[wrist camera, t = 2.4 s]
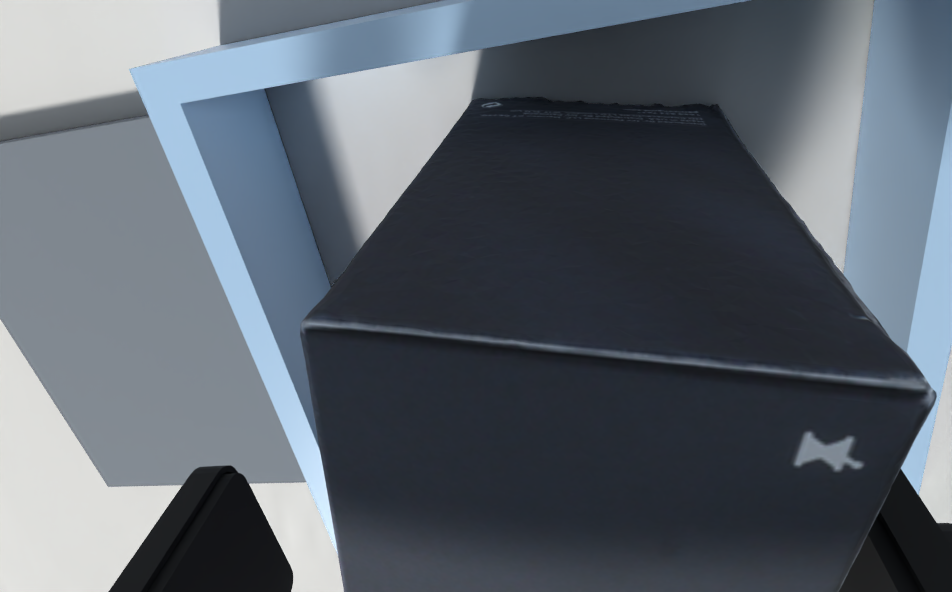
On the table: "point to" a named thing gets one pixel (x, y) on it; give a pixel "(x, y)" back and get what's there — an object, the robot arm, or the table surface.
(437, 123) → the table surface
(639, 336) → the small box
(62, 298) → the mat
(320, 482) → the bin
